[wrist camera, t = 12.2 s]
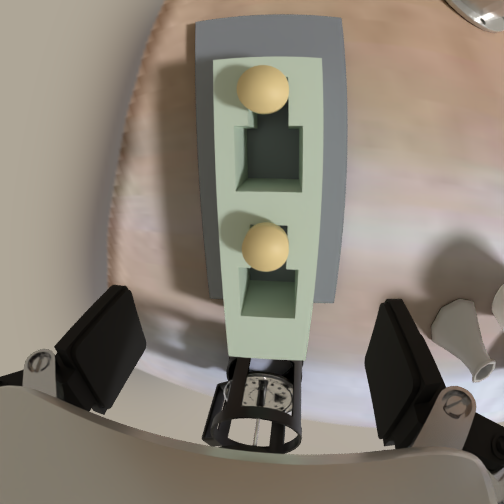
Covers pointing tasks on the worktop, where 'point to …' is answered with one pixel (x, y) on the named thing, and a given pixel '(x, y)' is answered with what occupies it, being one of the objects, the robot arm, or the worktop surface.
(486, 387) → the worktop surface
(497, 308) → the foam cup
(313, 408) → the worktop surface
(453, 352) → the flask
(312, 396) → the worktop surface
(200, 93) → the board
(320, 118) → the pale green slotted holder
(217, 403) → the french press
